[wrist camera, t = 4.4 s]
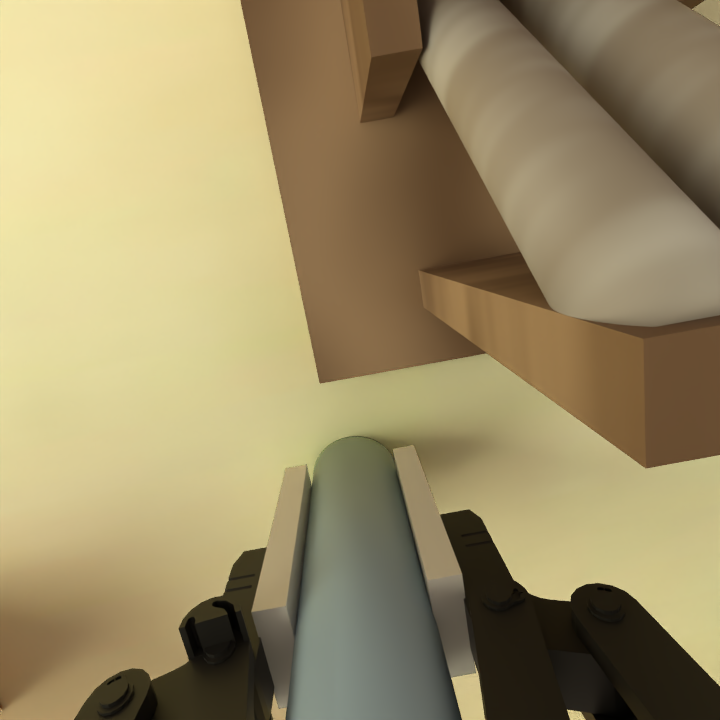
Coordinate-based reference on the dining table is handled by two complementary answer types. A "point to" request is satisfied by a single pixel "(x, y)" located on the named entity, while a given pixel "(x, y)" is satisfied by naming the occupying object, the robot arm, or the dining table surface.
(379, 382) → the dining table surface
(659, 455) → the socket cradle
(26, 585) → the dining table surface
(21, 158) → the dining table surface
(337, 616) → the peg
